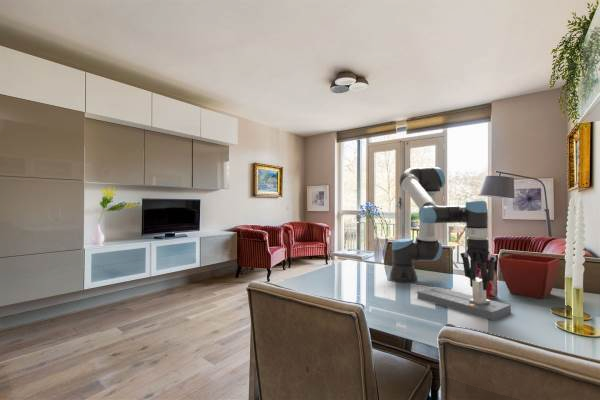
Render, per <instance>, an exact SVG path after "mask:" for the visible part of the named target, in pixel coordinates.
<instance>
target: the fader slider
mask: <svg viewBox="0 0 600 400" xmlns="http://www.w3.org/2000/svg"><path fill="white" fill-rule="evenodd" d="M475 279H476V280H472V283H473V290H472V296H473V299H470V300H469V302H470V303H474V304H478V305H482V306H483V305H485V304H488V303H490V300H491V299H489V300H487V299H488V298H481V290H480V282H481V281H482V279H479V278H475Z"/></svg>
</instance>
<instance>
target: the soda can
mask: <svg viewBox="0 0 600 400" xmlns="http://www.w3.org/2000/svg"><path fill="white" fill-rule="evenodd" d="M487 273H488V268H487ZM478 279H482V276H481V270H479V273H478ZM496 297H498V275H497V274H496V271H495V270H494V279H493V280H492V281H488V290H486V299H496Z"/></svg>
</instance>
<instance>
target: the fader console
mask: <svg viewBox="0 0 600 400" xmlns="http://www.w3.org/2000/svg"><path fill="white" fill-rule="evenodd" d="M417 298H418V299H420V300H423V301H426V302H430V303H432V304H433V303H434V304H437V305H440V306H442V307H446V308H447V307H448V308H449V309H453V310H457V311H460V312H464V313H467V314H469V315H470V314H471V315H472V316H476V317H479V318H484V319H485V320H486V319H487V320H489V321H495V320H497V319H500V318H501V317H504V316H507V315H509V314H511V313H512V306H511V305H512V304H507V303H503V302H501V301H496V300H492V299H490V298H486V299H487V300H490V303H488V304H485V305H483V306H482V305H478V304H474V303H470V302H469V300H470V299H473V294H472V295H471V294H467V293H463V292H460V291H455V290H451V289H448V288H443V287H439V286H433V287H429V288H425V289H420V290H418V291H417Z"/></svg>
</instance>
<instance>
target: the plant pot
mask: <svg viewBox="0 0 600 400" xmlns="http://www.w3.org/2000/svg"><path fill="white" fill-rule="evenodd" d="M497 259H498V263H499V267H500V268H499V269H500V271H501V276H502V277H503V280H504V283H505V285H506V288H507V290H508V292H509V293H511V294H517V295H520V296H521V295H522V296H526V297H532V298H537V299H544V298H546V297H547V296H549V295H550V294H551V293H552V291H553V287H554V285H555V282H556V279H557V274H558V270H559V263H560V258H559V257H548V256H541V255H530V254H529V255H528V254H517V253H510V254H507V255H504V256H499V257H497Z"/></svg>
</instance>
